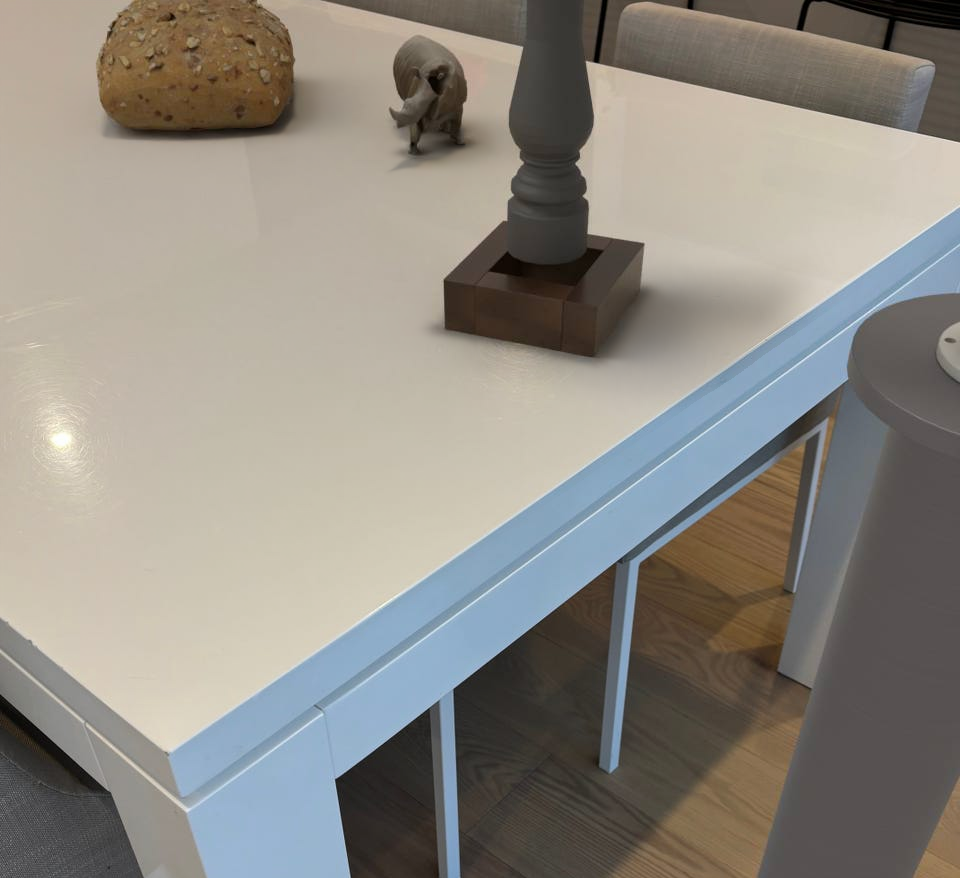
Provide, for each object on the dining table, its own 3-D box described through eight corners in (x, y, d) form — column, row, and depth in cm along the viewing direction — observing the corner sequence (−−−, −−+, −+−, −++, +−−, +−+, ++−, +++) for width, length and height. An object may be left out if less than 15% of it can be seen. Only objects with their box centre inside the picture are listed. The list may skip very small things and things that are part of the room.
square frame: (640, 290, 89) (645, 242, 86) (593, 357, 80) (597, 306, 78) (502, 266, 92) (503, 220, 89) (444, 328, 84) (443, 279, 81)
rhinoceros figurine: (468, 84, 121) (457, -21, 107) (478, 193, 119) (467, 100, 104) (400, 92, 122) (379, -12, 107) (407, 201, 119) (387, 109, 104)
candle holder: (592, 235, 85) (617, -159, 68) (579, 267, 80) (603, -145, 63) (515, 228, 86) (521, -161, 69) (498, 260, 81) (500, -148, 64)
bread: (294, 138, 116) (280, 13, 108) (94, 143, 115) (64, 17, 107) (306, 72, 134) (294, -40, 126) (133, 76, 133) (110, -37, 125)
